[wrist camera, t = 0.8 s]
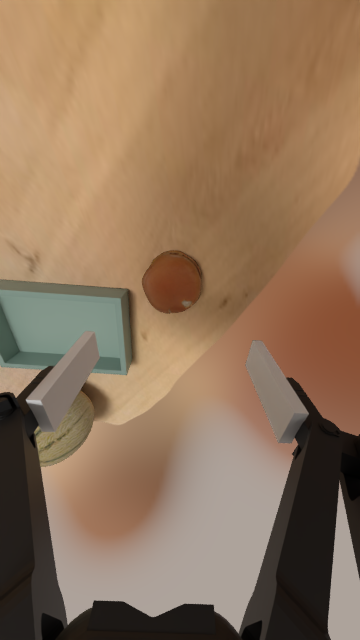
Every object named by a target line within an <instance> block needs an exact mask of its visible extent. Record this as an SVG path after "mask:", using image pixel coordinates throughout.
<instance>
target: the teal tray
mask: <svg viewBox="0 0 360 640" xmlns="http://www.w3.org/2000/svg"><path fill="white" fill-rule="evenodd" d="M85 331H93V332H95V335H96V341H97V346H98V351H99V356H100V358H99V360H98V361H97V363H96V365H95V366H94V368H93V370H92V371H91V373H104V374H119V375H127V373H128V370H129V367H130V365H131V362H132V347H131V331H130V314H129V297H128V289H121V288H107V287H94V286H80V285H67V284H54V283H40V282H27V281H13V280H0V365H1V367H9V368H25V369H41V370H44V369H45V368H47V367H48V366H55V365H56V364H57V363H58V362H59V361H60V360H61V359H62V357H63V356H64V355H65V354H66V353H67V352H68V351H69V349H70V348H71V347H72V346H73V345H74V344H75V342H76V341H77V340H78V339H79V338H80V337H81V336H82V334H83V333H84V332H85Z"/></svg>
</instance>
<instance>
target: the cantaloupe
mask: <svg viewBox="0 0 360 640" xmlns="http://www.w3.org/2000/svg"><path fill="white" fill-rule="evenodd" d="M93 420H94V408H93V405H92V402H91V401H90V399H89V398H88V396H87V395H86V394H85V393H83V392H82V391H81V390H80V391H79V393H78V395H77V396H76V398H75V400H74V401H73V403H72V405H71V406H70V408H69V410H68V411H67V413H66V415H65V416H64V418H63V420H62V421H61V423H60V425H59V426H58V428H57V430H56V431H55V432H42V431H41V429H40V427H39V426H38V427H37V429H36V430H35V432H34V433H35V435H36V441H37V447H38V454H39V461H40V467H46V466H51V465H54V464H57V463H59V462H61V461H63V460H65V459H66V458H68V457H69V456H70V455H72V454H73V453H74V452H75V451H77V450H78V448H79V447H80V446H81V445H82V444H83V443H84V442H85V440H86V438H87V437H88V435H89V433H90V431H91V428H92V424H93Z"/></svg>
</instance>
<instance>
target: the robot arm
mask: <svg viewBox="0 0 360 640" xmlns="http://www.w3.org/2000/svg"><path fill="white" fill-rule="evenodd" d="M99 358H100V356H99V351H98V346H97V341H96V335H95V332H93V331H85V332H84V333H83V334H82V336H81V337H80V338H79V339H78V340H77V341H76V342H75V344H74V345H73V346H72V347H71V348H70V349H69V351H68V352H67V353H66V354H65V355H64V356H63V357H62V359H61V360H60V361H59V362H58V363H57V364H56V365H55V366H48V367H47V368H45V369H44V370H42V371H41V372H40V373H39V374H38V375H37V376H36V378H34V379H33V380H32V382H31V383H30V384H29V385H28V386H27V387H26V388H25V389H24V390H23V391H22V392H21V393H20V394H19V395H18V397H17V398H15V396H14V394H13V393H10V392H4V393H0V640H331V639H330V637H329V634H328V611H329V600H330V588H331V575H332V564H333V552H334V540H335V528H336V516H337V503H338V491H339V480H340V485H341V489H342V494H343V499H344V504H345V509H346V514H347V519H348V524H349V529H350V534H351V539H352V544H353V548H354V553H355V558H356V563H357V567H358V573H359V578H360V434H359V436H355V435H352V434H349V433H346V432H343V431H340V429H339V428H338V427H337V426H336V425H335V424H334V423H332V422H331V421H329V420H327V419H324V418H323V417H322V416H321V415H320V413H319V412H318V410H317V409H316V407H315V406H314V405H313V403H312V402H311V400H310V399H309V397H307V395H306V393H305V392H304V390H303V389H302V388H301V386H300V385H299V383H297V382H296V381H295V380H294V379H293V378H286V377H285V376H284V374H283V373H282V371H281V370H280V368H279V366H278V365H277V363H276V362H275V360H274V359H273V358H272V356H271V354H270V353H269V351H268V350H267V348H266V346H265V345H264V343H263V342H262V341H258V340H253V341H252V344H251V348H250V351H249V355H248V358H247V361H246V368H247V370H248V373H249V375H250V377H251V380H252V382H253V384H254V387H255V389H256V392H257V394H258V396H259V398H260V401H261V403H262V406H263V408H264V410H265V413H266V415H267V417H268V420H269V422H270V424H271V427H272V429H273V431H274V434H275V436H276V439H277V441H278V443H292V441H293V439H294V438H295V439H296V441H297V443H298V446H297V447H296V449H295V450H294V452H293V453H292V455H293V456H294V457H293V461H292V464H291V468H290V471H289V474H288V478H287V481H286V484H285V488H284V491H283V495H282V498H281V501H280V505H279V508H278V512H277V515H276V518H275V522H274V526H273V529H272V532H271V536H270V539H269V542H268V546H267V549H266V553H265V556H264V559H263V563H262V566H261V570H260V573H259V577H258V580H257V583H256V586H255V590H254V592H253V595H252V597H251V599H250V601H249V603H248V606H247V609H246V611H245V615H244V618H243V621H242V625H241V628H240V631H239V634H238V633H237V631H236V630H235V629H234V627H233V626H232V625H231V624H230V623H229V622H228V621H227V620H226V619H225V618H224V617H222V616H221V615H220V614H218V613H216V612H215V611H214V605H203V604H183V605H181V606H179V607H176V608H174V609H172V610H170V611H168V612H165V613H163V614H161V615H159V616H156V617H150V616H148V615H146V614H145V613H143V612H141V611H139V610H137V609H136V608H134V607H132V606H130V605H129V604H127V603H125V602H121V601H94V602H93V607H92V608H90V609H88V610H86V611H85V612H83V613H82V614H80V615H79V616H78V617H77V618H75V619H74V620H73V621H72V622H70V624H69V625H68V624H67V618H66V611H65V606H64V601H63V597H62V594H61V591H60V588H59V585H58V581H57V574H56V568H55V561H54V555H53V548H52V541H51V534H50V529H49V521H48V514H47V508H46V501H45V495H44V487H43V482H42V474H41V467H40V461H39V454H38V447H37V441H36V435H35V433H34V432H35V430H36V429H37V427H38V426H39V427H40V429H41V431H42V432H55V431H56V430H57V428H58V426H59V425H60V423H61V421H62V420H63V418H64V416H65V415H66V413H67V411H68V410H69V408H70V406H71V405H72V403H73V401H74V400H75V398H76V396H77V395H78V393H79V391H80V390H81V388H82V386H83V385H84V383H85V381H86V380H87V378H88V376H89V375H90V373H91V371H92V370H93V368H94V366H95V365H96V363H97V361H98V360H99Z"/></svg>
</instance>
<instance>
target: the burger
mask: <svg viewBox="0 0 360 640" xmlns="http://www.w3.org/2000/svg"><path fill="white" fill-rule="evenodd" d="M142 285H143V288H144V291H145V294H146V296H147V298H148V300H149V302H150V303H151V305H152V306H153V307H154V308H155V309H156V310H158V311H160V312H163V313H177V312H183V311H185V310H186V309H188V308H189V307H190V306H191V305H193V304H194V303H195V302H196V301H197V300H198V298H199V296H200V291H201V271H200V268H199V267H198V265H197V264H196V262H195V261H194V260H193V259H192V258H190V257H188V256H186V255H185V254H184V253H182V252H180V251H168V252H164V253H162V254H160V255H159V256H157V257H156V258H155V259H154V260H153V262H152V264H151V265H150V267H149V269H148V270H147V271H146V273H145V274H144V276H143V278H142Z"/></svg>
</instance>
